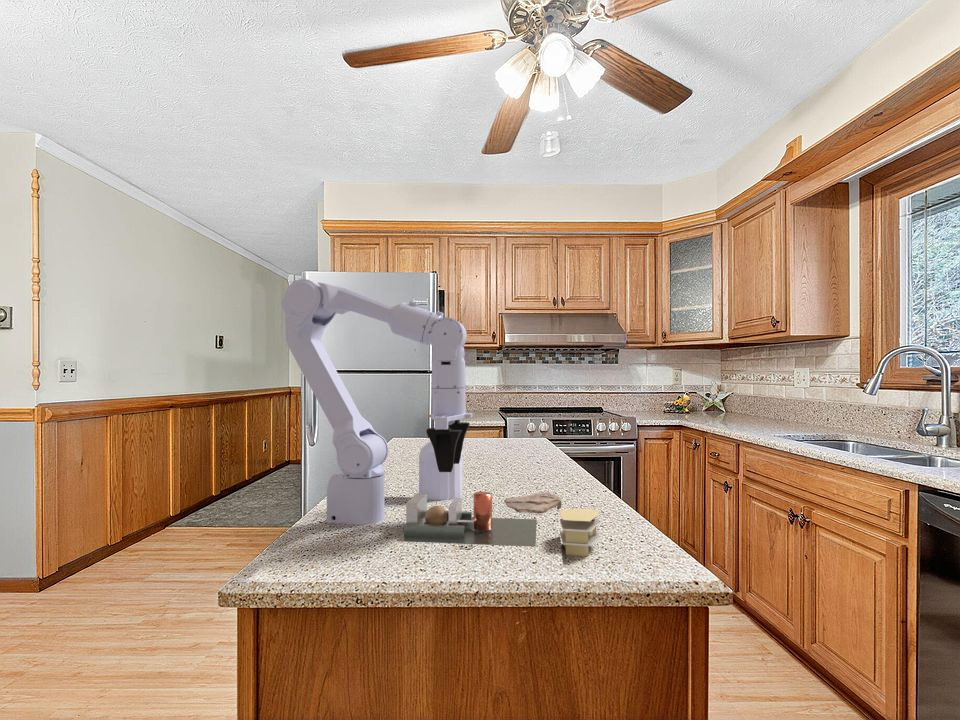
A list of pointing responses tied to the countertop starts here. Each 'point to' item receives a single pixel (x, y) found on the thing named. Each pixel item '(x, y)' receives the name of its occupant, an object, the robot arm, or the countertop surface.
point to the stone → (534, 503)
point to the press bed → (500, 534)
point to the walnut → (436, 516)
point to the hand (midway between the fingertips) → (449, 467)
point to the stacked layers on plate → (578, 530)
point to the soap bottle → (438, 477)
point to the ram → (480, 512)
